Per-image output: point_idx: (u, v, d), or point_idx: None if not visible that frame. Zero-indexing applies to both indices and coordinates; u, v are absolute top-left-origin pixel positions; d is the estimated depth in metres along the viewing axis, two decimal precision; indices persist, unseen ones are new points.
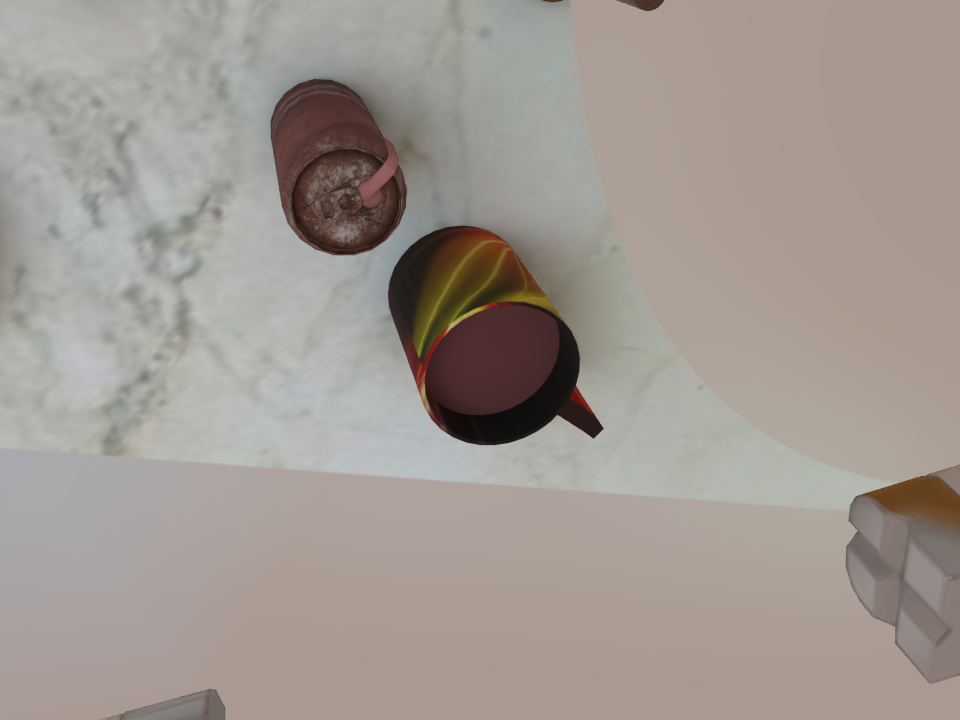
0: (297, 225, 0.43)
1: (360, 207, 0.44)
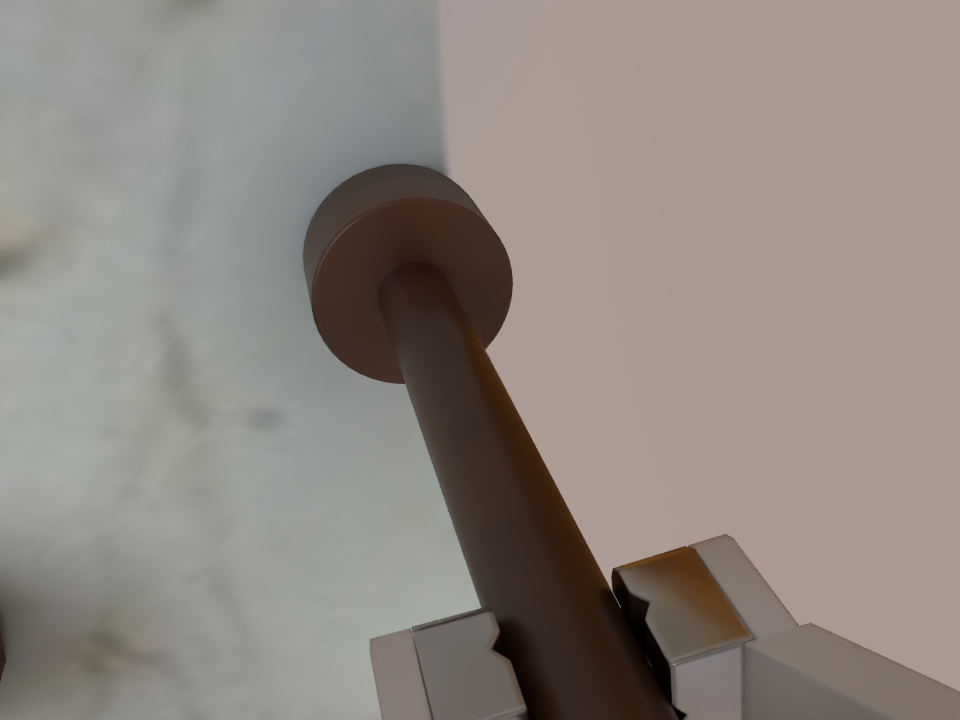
0: None
1: None
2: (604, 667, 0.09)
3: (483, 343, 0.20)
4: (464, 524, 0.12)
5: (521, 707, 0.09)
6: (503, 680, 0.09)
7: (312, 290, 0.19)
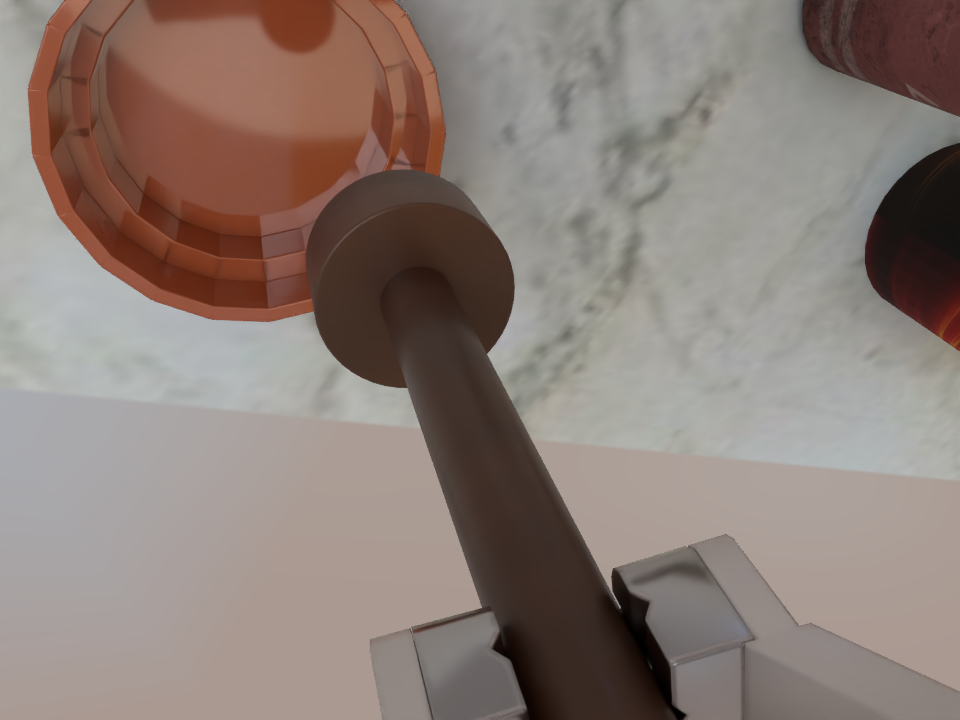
0: None
1: None
2: (607, 675, 0.10)
3: (485, 347, 0.20)
4: (466, 530, 0.12)
5: (521, 707, 0.09)
6: (503, 680, 0.09)
7: (315, 295, 0.19)
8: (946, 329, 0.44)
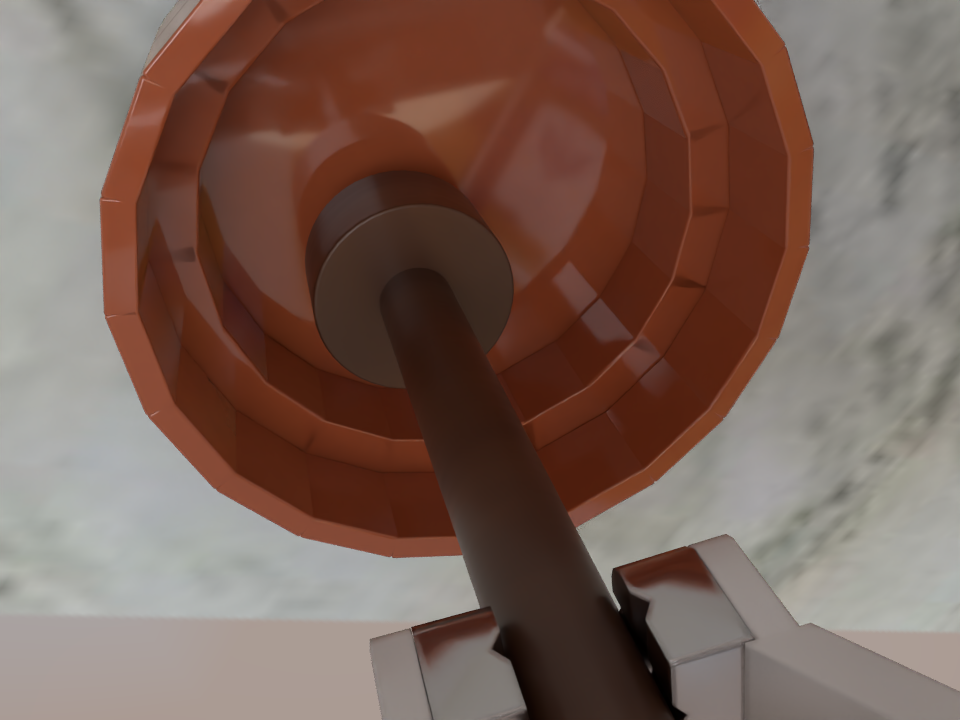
0: None
1: None
2: (605, 676, 0.10)
3: (484, 348, 0.20)
4: (465, 532, 0.12)
5: (521, 707, 0.09)
6: (503, 680, 0.09)
7: (314, 296, 0.19)
8: None
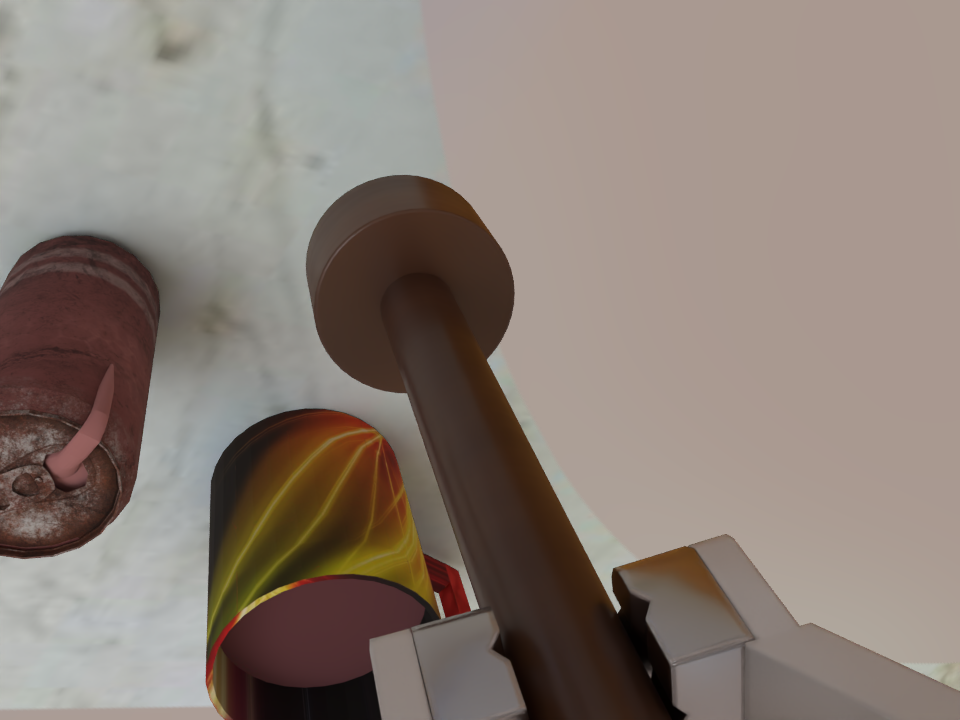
0: None
1: (53, 489, 0.28)
2: (606, 684, 0.10)
3: (485, 352, 0.20)
4: (466, 539, 0.12)
5: (520, 707, 0.09)
6: (503, 680, 0.09)
7: (315, 301, 0.19)
8: None
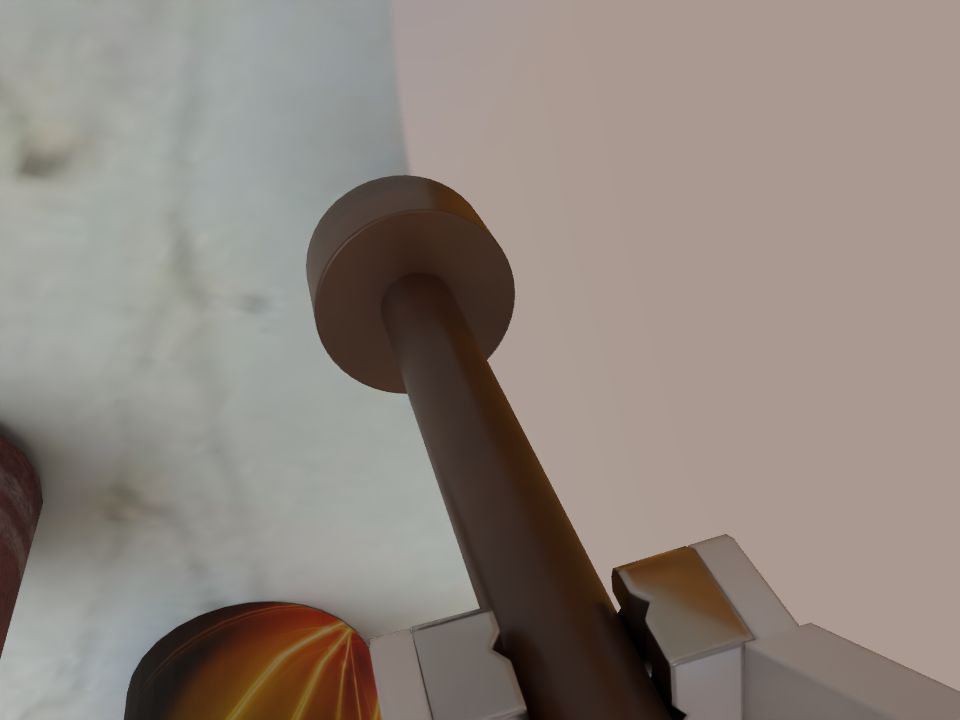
0: None
1: None
2: (606, 685, 0.10)
3: (485, 353, 0.20)
4: (467, 540, 0.12)
5: (520, 707, 0.09)
6: (503, 680, 0.09)
7: (315, 301, 0.19)
8: None
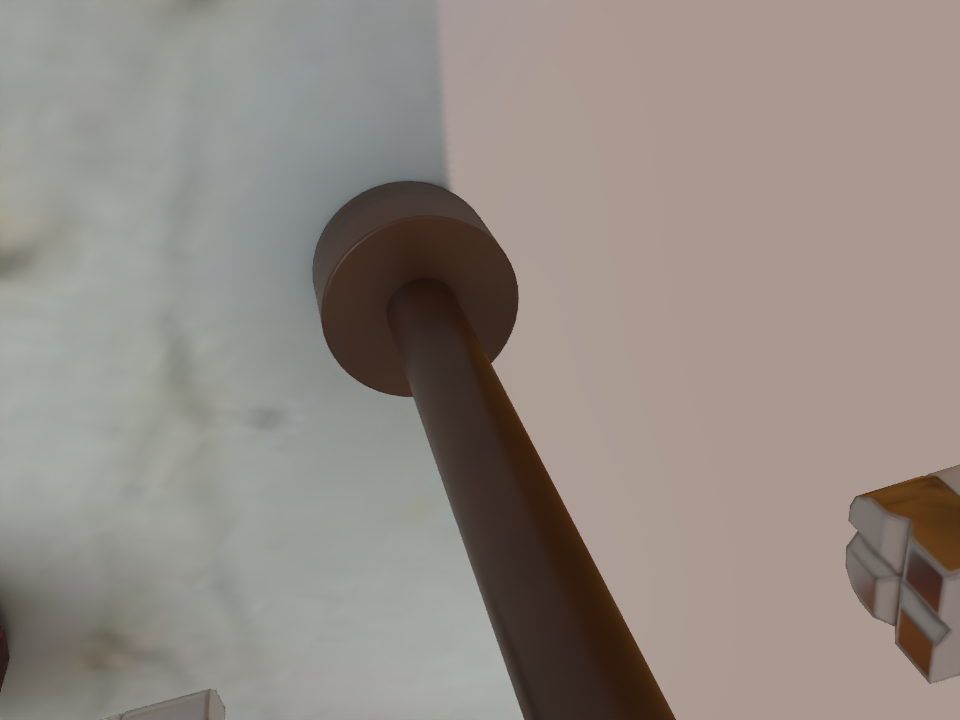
0: None
1: None
2: (611, 683, 0.10)
3: (489, 357, 0.21)
4: (473, 541, 0.13)
5: None
6: None
7: (322, 306, 0.19)
8: None
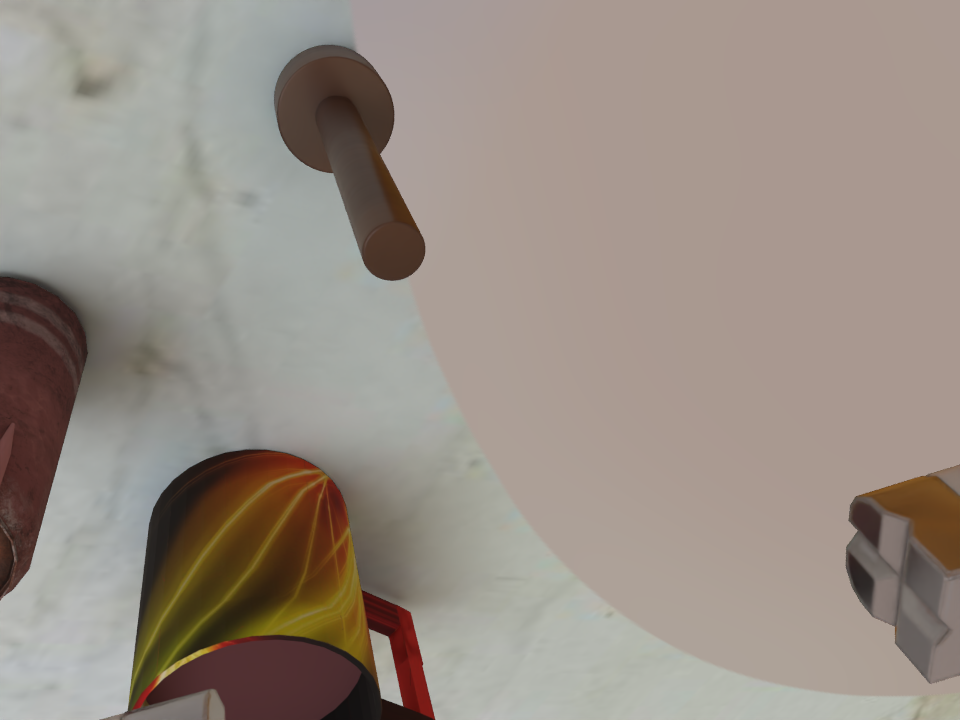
0: None
1: None
2: (379, 190, 0.24)
3: (378, 149, 0.35)
4: (338, 175, 0.27)
5: None
6: None
7: (277, 110, 0.33)
8: None
